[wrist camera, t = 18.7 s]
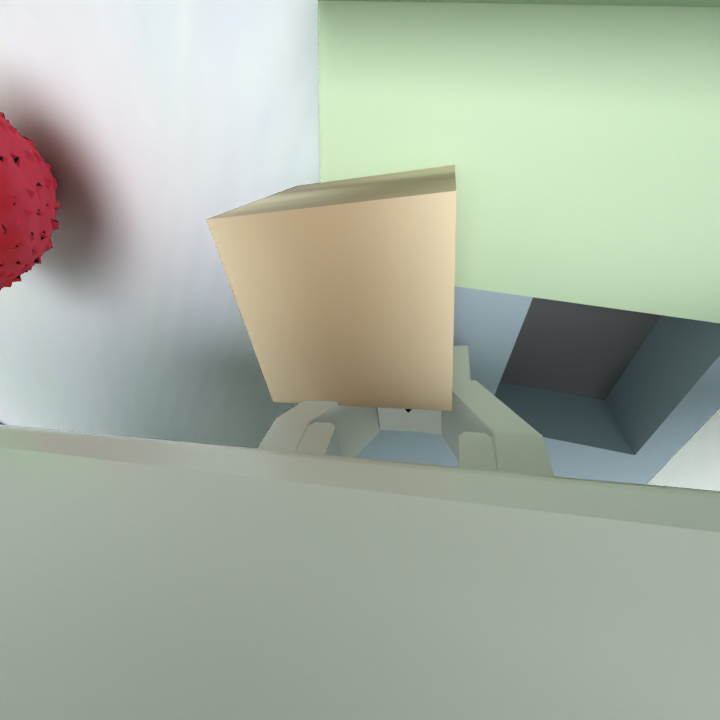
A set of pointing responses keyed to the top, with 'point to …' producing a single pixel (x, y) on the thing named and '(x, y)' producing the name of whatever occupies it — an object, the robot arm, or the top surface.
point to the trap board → (554, 204)
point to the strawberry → (23, 204)
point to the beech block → (349, 288)
